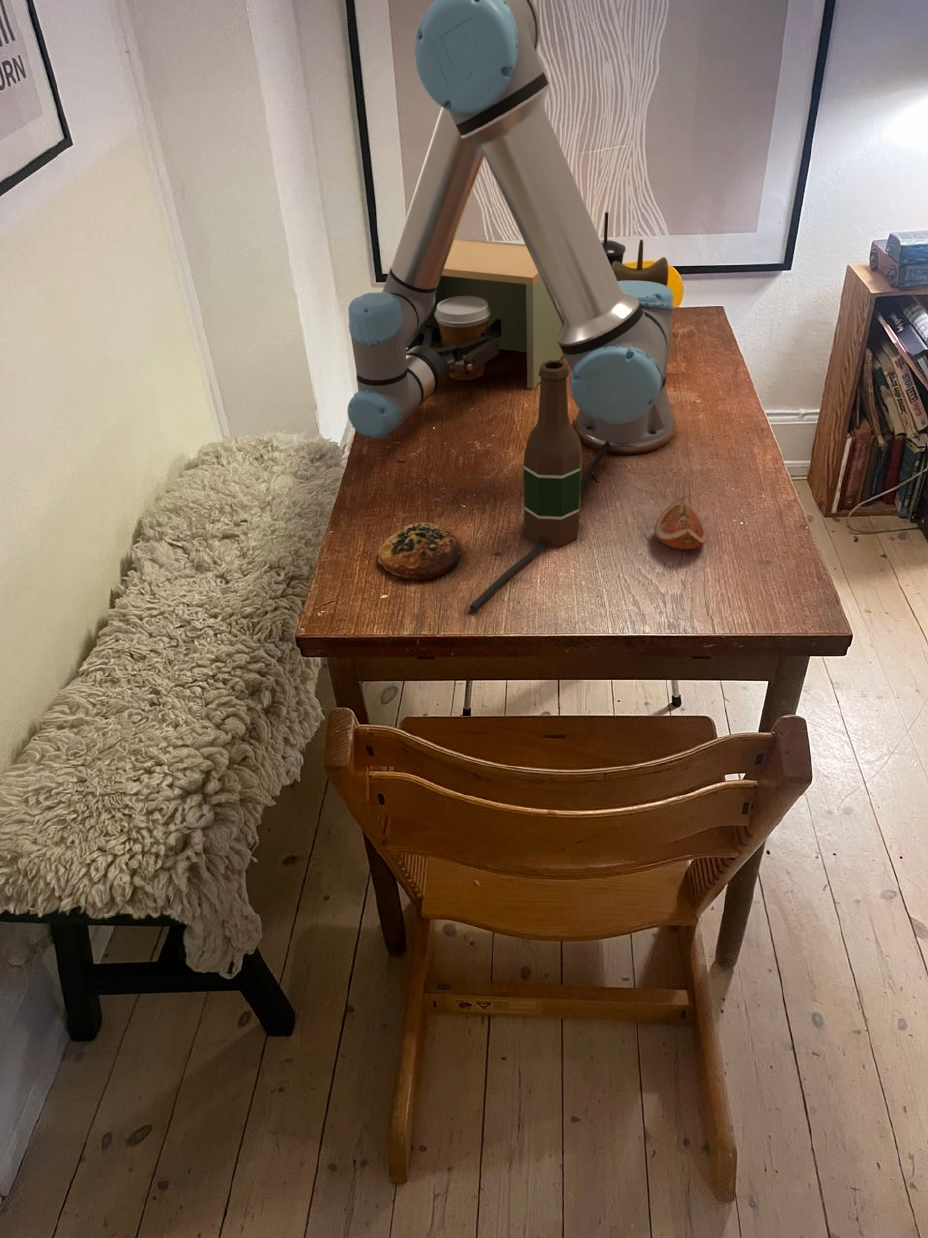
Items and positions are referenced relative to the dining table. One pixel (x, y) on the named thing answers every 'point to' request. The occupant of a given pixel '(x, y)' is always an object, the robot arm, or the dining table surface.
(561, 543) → the beer bottle
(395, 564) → the bread roll
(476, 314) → the disposable coffee cup
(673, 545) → the fruit slice
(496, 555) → the dining table surface
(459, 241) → the cabinet
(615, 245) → the drinking cup
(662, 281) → the kendama
